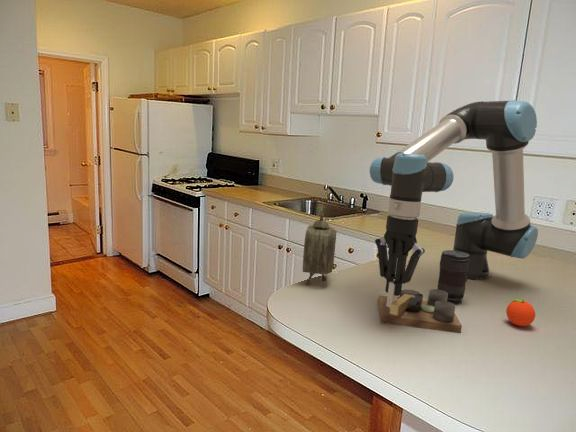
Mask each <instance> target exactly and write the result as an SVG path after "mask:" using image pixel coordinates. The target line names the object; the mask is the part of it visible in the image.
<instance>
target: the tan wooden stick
mask: <svg viewBox="0 0 576 432" xmlns="http://www.w3.org/2000/svg"><path fill="white" fill-rule="evenodd" d="M398 297H399V299H397V300H396V301H394V302H393V303H391V306H390V314H393V315H399V314H400V313H401V312H403V311H404V310H406V311H411V312H418V311H420V310H421V306H422V300H424V299H423V297H424V295H423V293H421V292H420V291H418V290H414V289H402V290H401V294H400V295H399V296H398Z"/></svg>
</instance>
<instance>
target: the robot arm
mask: <svg viewBox="0 0 576 432" xmlns="http://www.w3.org/2000/svg"><path fill="white" fill-rule="evenodd" d="M537 119H538V118H537V114H536V110H535V108H534V107H533V105H532V104H531V103H530V102H529V101H524V100H523V101H522V100H514V99H513V100H494V101H476V102H471V103H468V104H465V105H463V106H460V107H459V108H456V109H455V110H452V111H451V112H449V113H447V114H446V115H444V116H443V117H442V118H441V119H440V120H439V122H438V124H437V125H435V126H434V127H432V128H430V129H429V130H428V131H426V132H425V133H424V134H422V135H421V136H419V137H418V138H416V139H414V140H413V141H411V143H409V144H408V145H406V146H405V147H403V148H401V149H400V150H398V151H397V152H396V153H394V154H392V155H391V156H389V157H385V156H383V157H376V158H374V160H372V162H371V163H370V166H369V175H370V176H369V177H370V179H371V180H372V181H373V182H374V183H376V184H381V185H383V186H390V194H389V200H388V210H387V213H388V216H386V225H385V230H386V231H385V233H384V234H383V236H382V237H380V238H376V239H375V240H374V243H375V245H376V248H377V253H378V263H379V264H378V266H379V276H380V277H381V278H384V279H385V281H386V283H385V293H387V295H386V296H387V304H386V306H387V307H390V306H391V303H393V302H394V301H396V300H397V297H400V294H401V290H403V285H405V284H408V283H410V282H411V280H412V277H413V275H414V273H415V270H416V268H417V266H418V263H419V260H420V259H421V256H422V255H424V254H425V252H426V251H425V248H423V247H420V246H419V245H418V240H417V237H416V235H417V234H418V233H417V232H418V226H419V219H418V218H419V217H420V212H421V202H422V196H423V193H429V192H430V193H439V192H443V191H446V190H448V189H449V188H450V187H451V186H452V184H453V181H454V172H453V169H452V168H451V167H450V166H449V164H446V163H442V162H438V161H435V162H432V160H433V159H434V158H435V157H437V156H438V155H439V154H440V153H442V152H443V151H445V150H447V149H448V148H449V147H450V146H451V145H453V144H460V143H461V142H463V141H464V140H483V141H485V143H486V144H485V145H486V149H487V150H489V151H490V152H491V155H492V156H491V157H492V171H493V188H494V189H493V190H494V191H493V192H494V205H495V215H493V213H489V212H463V213H461V214H459V215H458V217H457V221H456V224H455V225H456V228H455V233H454V235H455V236H454V241H453V248H452V250H454V251H460V252H465V253H467V254H469V267H468V272H467V280H468V279H469V280H487V279H488V278H489V276H490V268H489V267H490V266H489V262H488V258H487V255H488V252H492V253H496V254H499V255H504V256H507V257H508V256H509V257H510V258H517V259H526V258H527V257H528V256H530V255H531V254H532V253H531V252H532V251H533V249H534V248H535V246H536V243H537V240H538V235H539V229H538V227H537V226H535V225H531V219H530V217H529V216H528V215H527V214H526V213H525V209H526V208H525V206H526V205H525V178H524V177H525V176H524V175H525V173H524V171H525V170H524V169H525V167H524V149H525V148H526V147H527V146H528V145H529V141H531V140H532V139H533V138H534V137H535V135H536V132H537V130H536V128H538V127H537V124H538V121H537ZM430 161H431V162H430ZM411 250H412V251H411ZM410 251H411V253H412V254H411V256H410V258H409V260H408V263H407V258H408V257H409V253H410Z"/></svg>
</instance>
